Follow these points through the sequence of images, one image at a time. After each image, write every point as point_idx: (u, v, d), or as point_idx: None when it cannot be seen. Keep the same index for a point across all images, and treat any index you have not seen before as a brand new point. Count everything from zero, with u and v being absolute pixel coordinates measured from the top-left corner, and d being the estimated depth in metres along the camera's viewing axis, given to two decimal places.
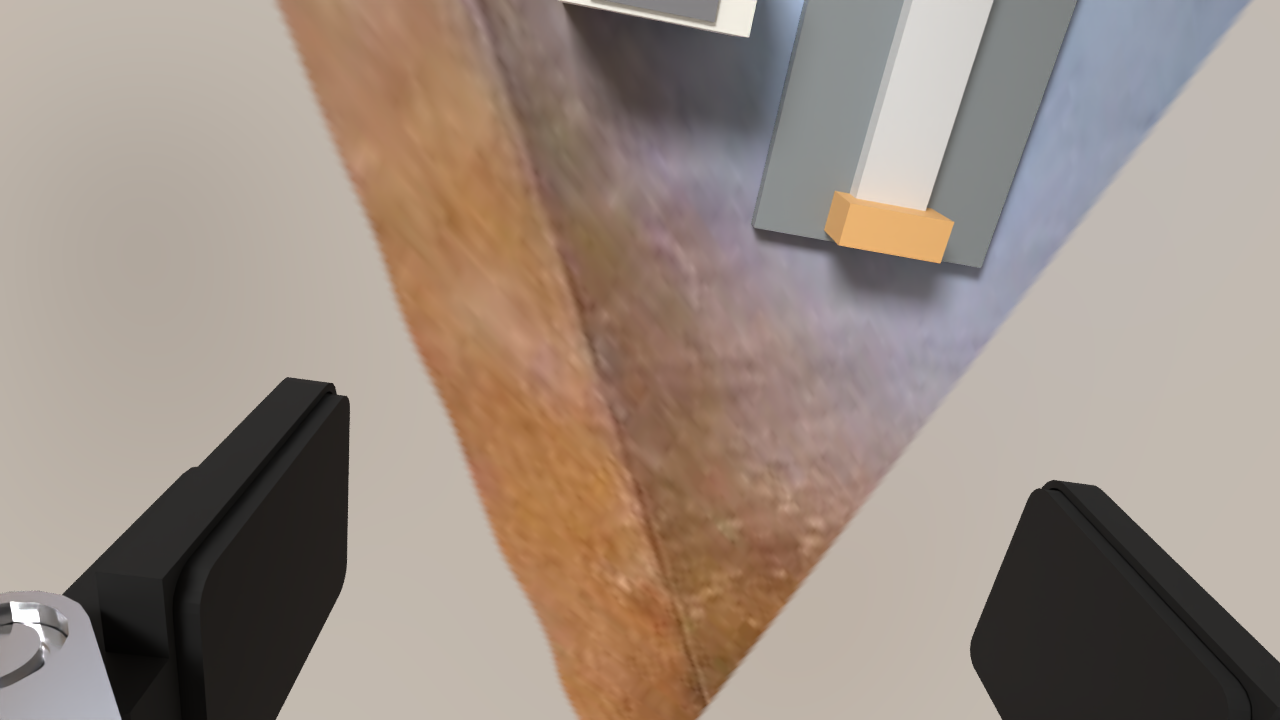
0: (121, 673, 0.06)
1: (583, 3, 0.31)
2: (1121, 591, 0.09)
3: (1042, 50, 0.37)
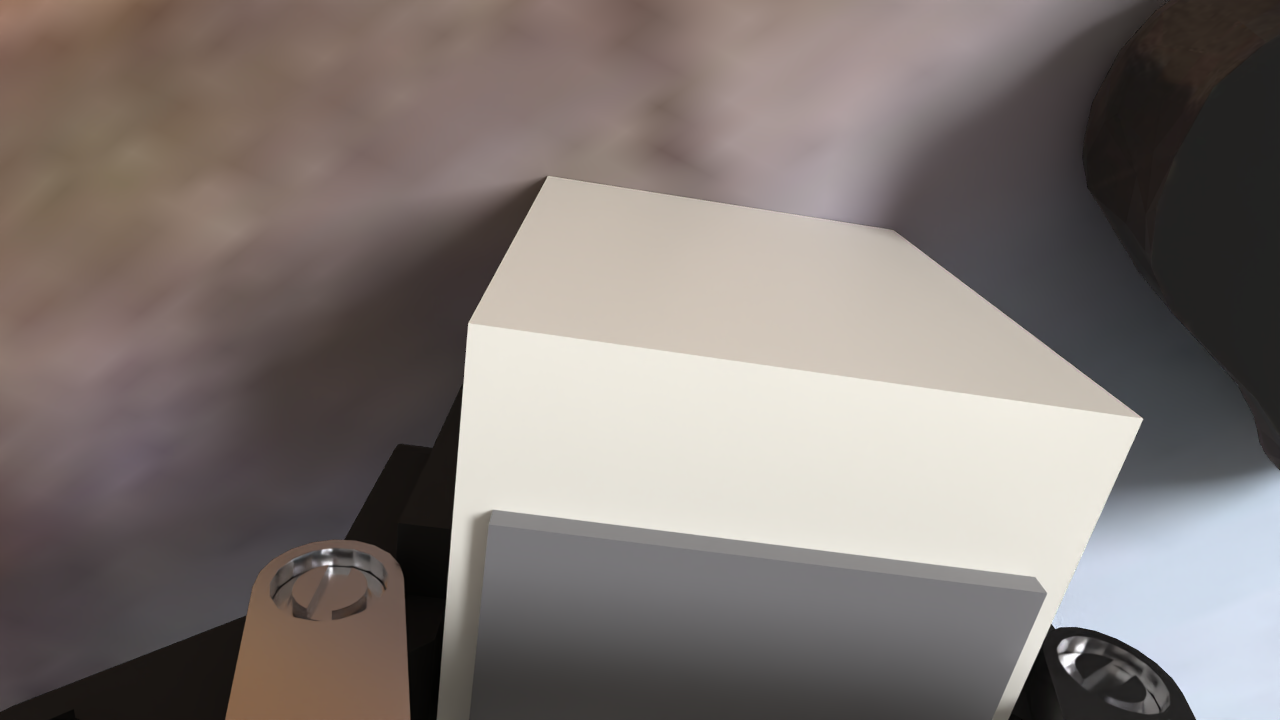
0: (414, 610, 0.07)
1: (462, 481, 0.06)
2: None
3: None
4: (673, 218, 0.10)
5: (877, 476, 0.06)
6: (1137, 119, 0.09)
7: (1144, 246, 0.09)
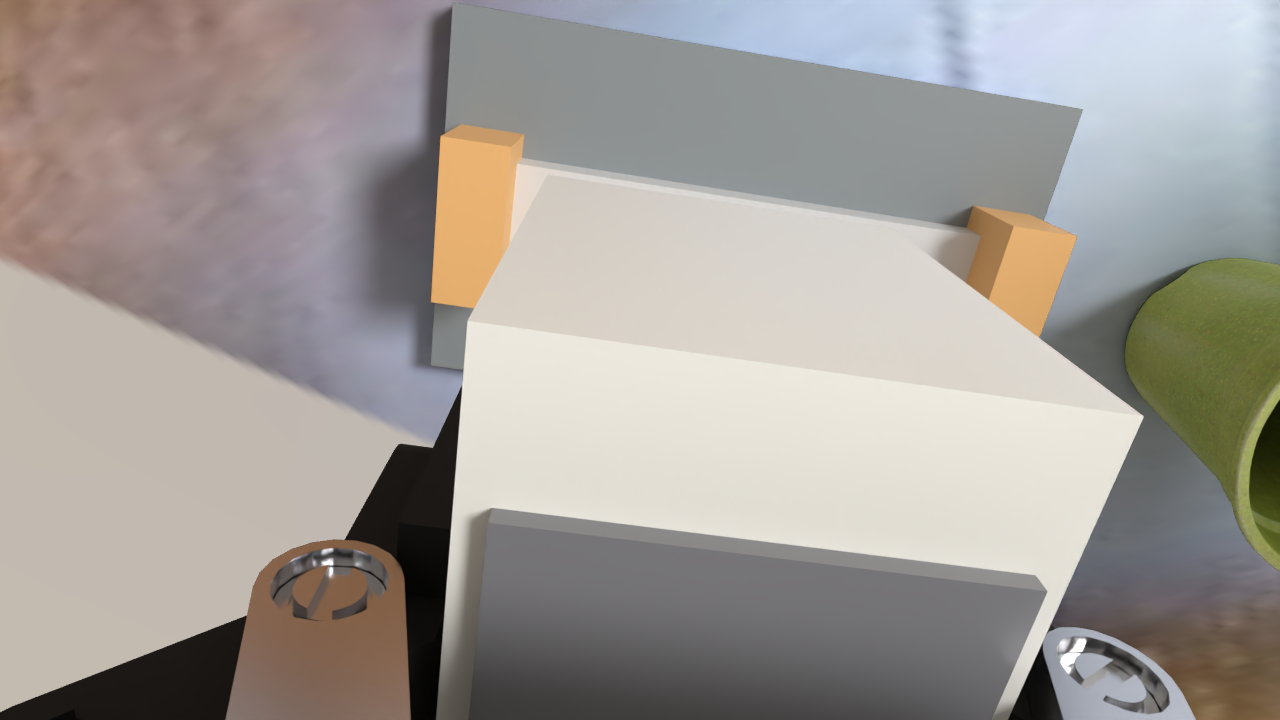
0: (414, 609, 0.07)
1: (461, 479, 0.06)
2: None
3: None
4: (673, 217, 0.10)
5: (876, 475, 0.06)
6: None
7: None
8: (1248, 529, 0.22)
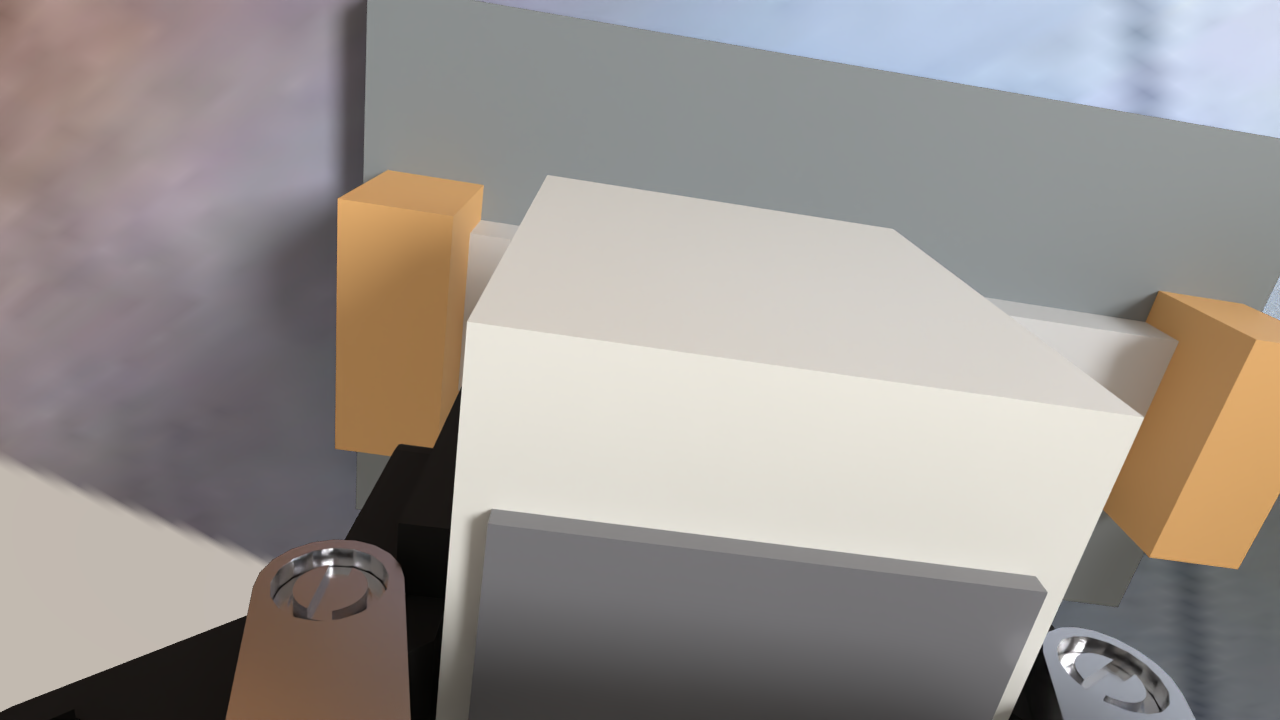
0: (414, 609, 0.07)
1: (461, 480, 0.06)
2: None
3: None
4: (673, 217, 0.10)
5: (876, 475, 0.06)
6: None
7: None
8: None
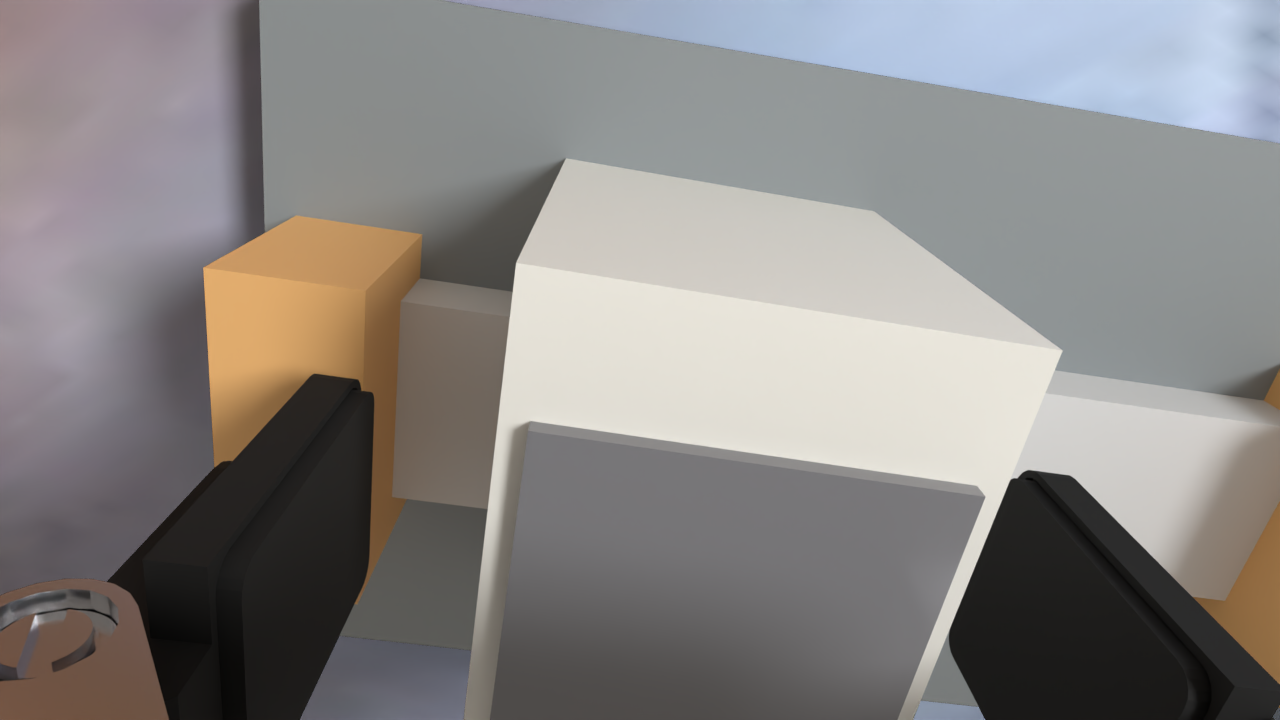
0: (167, 658, 0.06)
1: (505, 396, 0.07)
2: (1090, 577, 0.09)
3: None
4: (678, 195, 0.11)
5: (846, 396, 0.07)
6: None
7: None
8: None
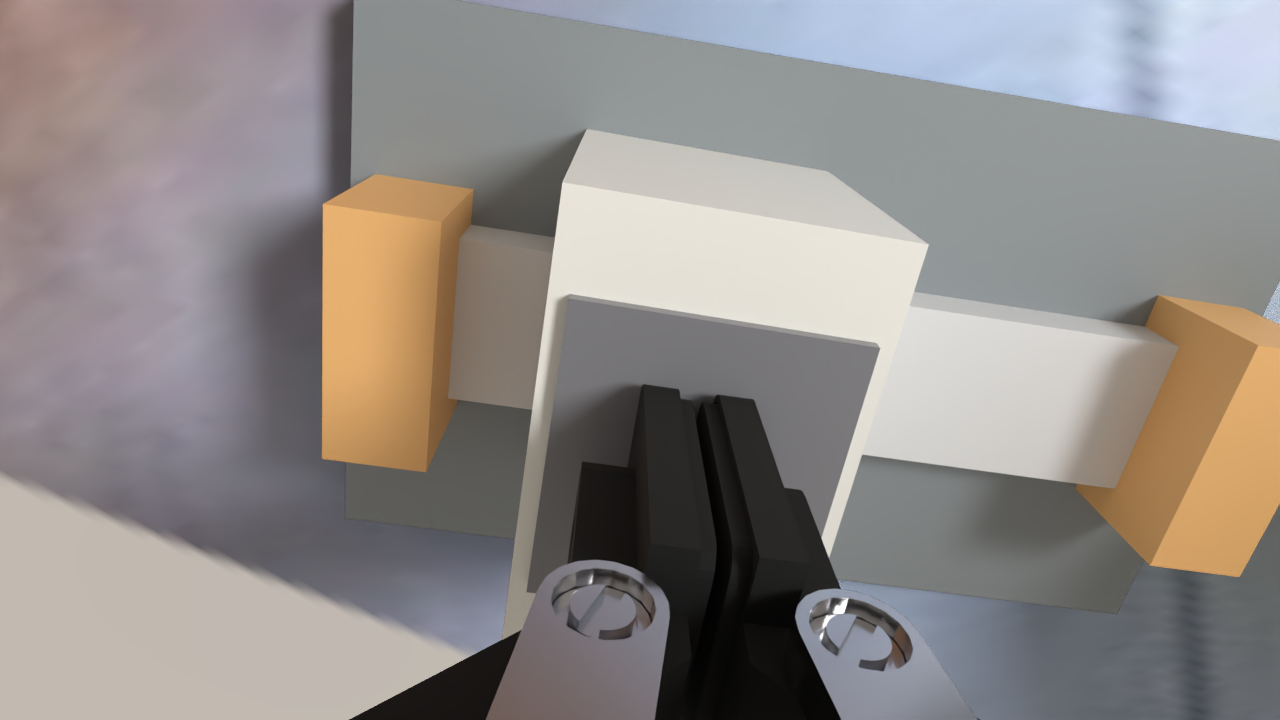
0: None
1: (553, 276, 0.11)
2: (715, 480, 0.09)
3: None
4: (673, 154, 0.15)
5: (783, 277, 0.11)
6: None
7: None
8: None
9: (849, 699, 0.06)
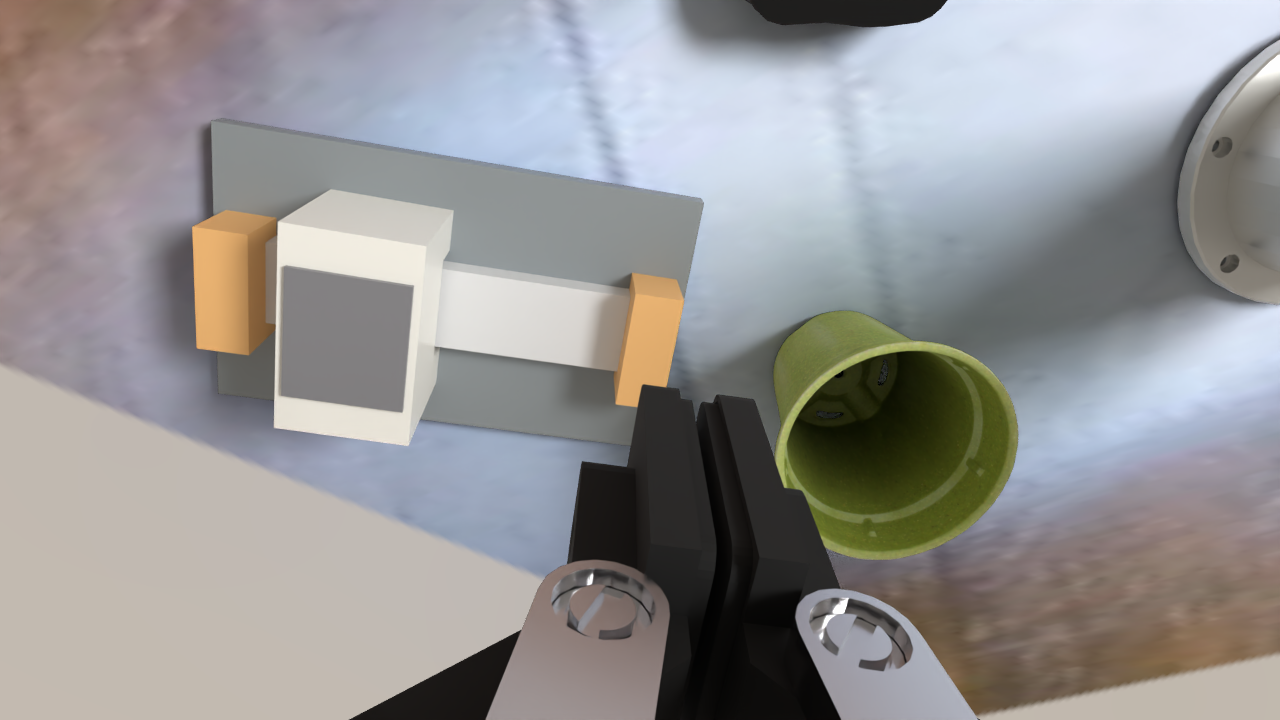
0: None
1: (278, 258, 0.27)
2: (715, 480, 0.09)
3: (454, 408, 0.37)
4: (363, 203, 0.31)
5: (371, 258, 0.28)
6: None
7: None
8: None
9: (848, 699, 0.06)
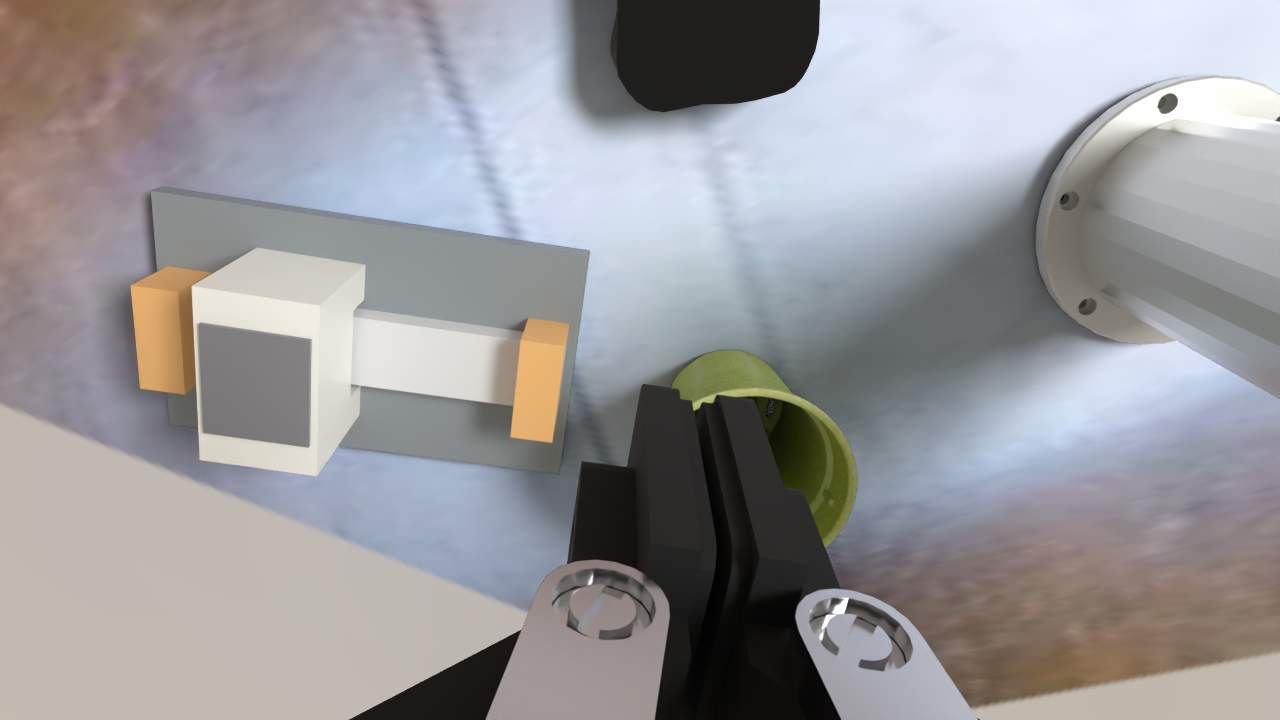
0: None
1: (194, 316, 0.32)
2: (715, 480, 0.09)
3: (377, 438, 0.41)
4: (281, 262, 0.36)
5: (273, 316, 0.32)
6: None
7: None
8: None
9: (849, 699, 0.06)
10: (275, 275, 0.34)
